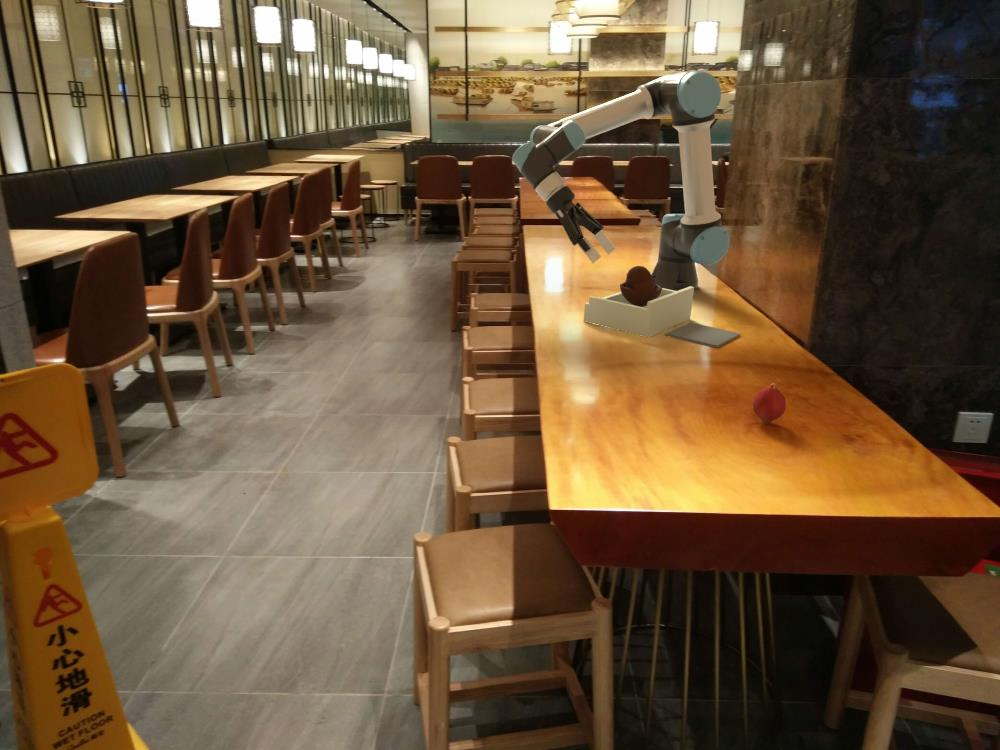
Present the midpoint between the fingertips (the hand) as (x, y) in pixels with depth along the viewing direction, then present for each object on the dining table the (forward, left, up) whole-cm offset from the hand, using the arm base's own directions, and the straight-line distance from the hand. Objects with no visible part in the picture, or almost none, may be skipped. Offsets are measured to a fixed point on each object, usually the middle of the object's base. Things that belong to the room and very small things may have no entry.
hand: (605, 255), depth 199 cm
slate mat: (-3, +29, -16) cm, 34 cm away
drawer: (-3, +10, -16) cm, 20 cm away
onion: (+40, +62, -17) cm, 76 cm away
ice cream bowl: (-3, +10, -17) cm, 20 cm away
